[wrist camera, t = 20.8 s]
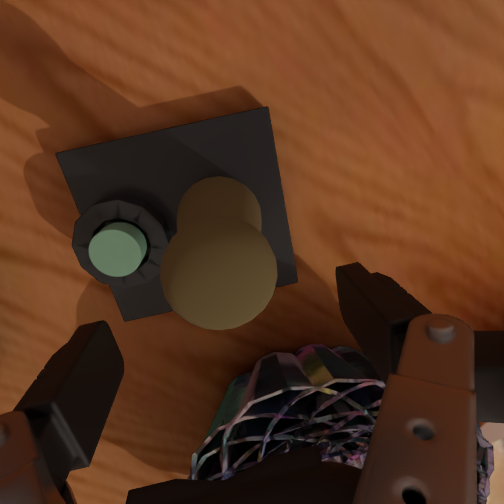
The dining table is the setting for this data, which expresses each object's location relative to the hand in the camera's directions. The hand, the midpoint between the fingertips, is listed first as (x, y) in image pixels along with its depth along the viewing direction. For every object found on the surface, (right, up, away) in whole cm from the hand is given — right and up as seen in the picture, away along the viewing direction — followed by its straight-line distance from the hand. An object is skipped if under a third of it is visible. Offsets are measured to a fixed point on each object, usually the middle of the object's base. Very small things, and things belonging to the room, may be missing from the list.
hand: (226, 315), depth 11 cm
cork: (-1, +5, +12) cm, 13 cm away
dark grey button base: (-4, +5, +13) cm, 15 cm away
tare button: (-8, +3, +11) cm, 14 cm away
